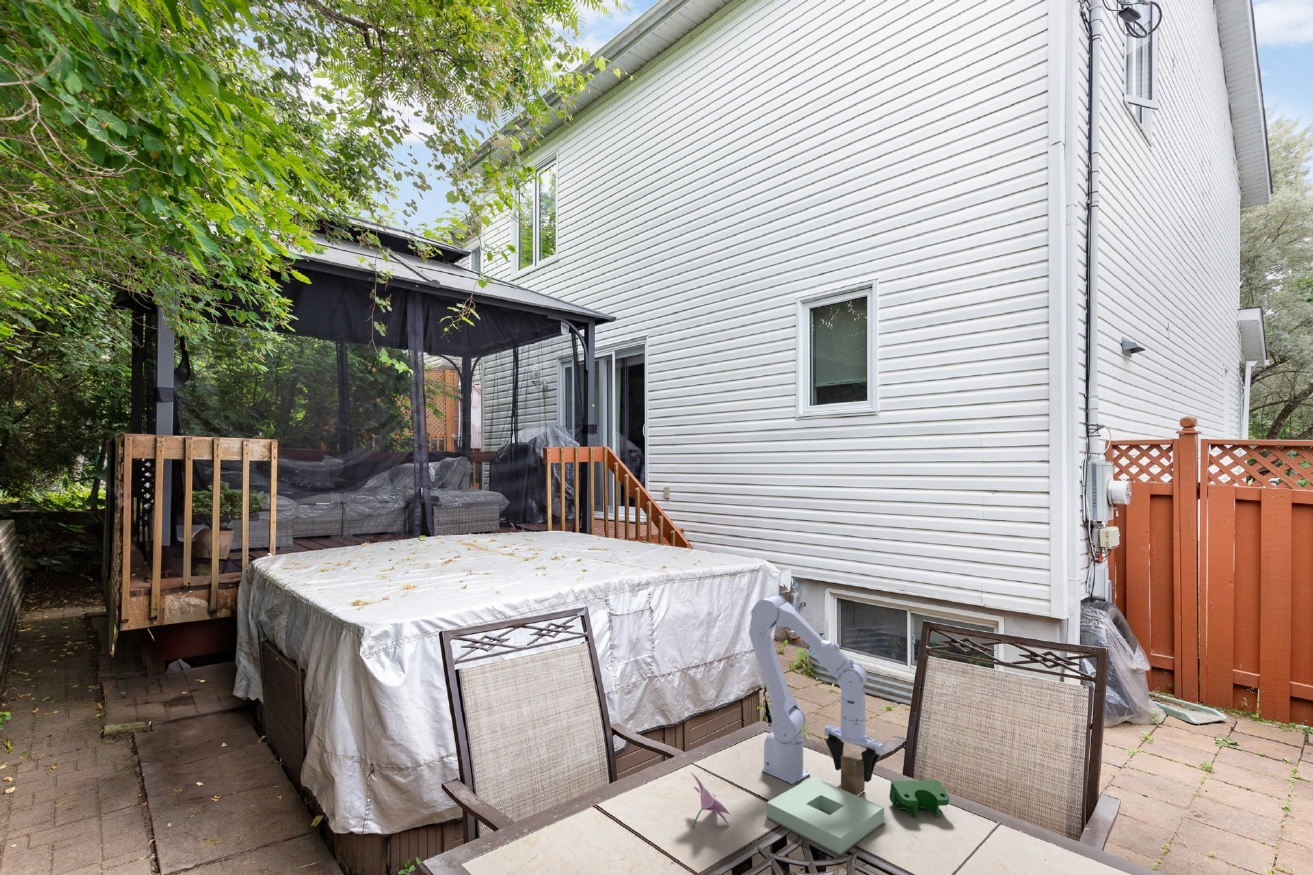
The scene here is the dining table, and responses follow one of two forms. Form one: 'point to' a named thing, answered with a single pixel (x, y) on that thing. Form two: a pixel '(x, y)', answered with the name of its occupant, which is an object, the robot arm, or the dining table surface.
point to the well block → (826, 815)
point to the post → (852, 773)
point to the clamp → (918, 795)
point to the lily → (709, 802)
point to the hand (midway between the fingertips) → (853, 774)
